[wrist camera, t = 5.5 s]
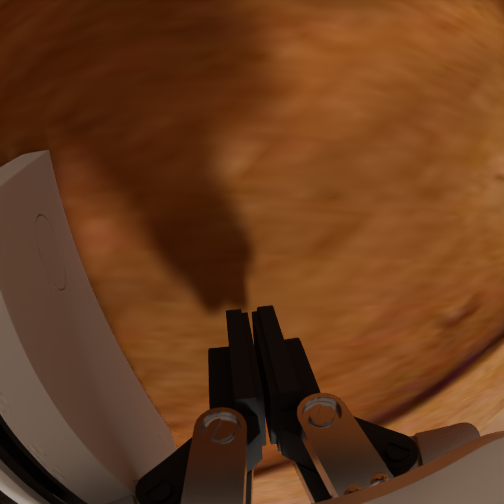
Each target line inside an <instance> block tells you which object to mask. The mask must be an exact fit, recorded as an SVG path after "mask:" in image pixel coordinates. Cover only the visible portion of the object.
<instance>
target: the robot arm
mask: <svg viewBox="0 0 504 504" xmlns="http://www.w3.org/2000/svg"><path fill="white" fill-rule="evenodd" d="M226 318H227V330H228V340H229V347H220V348H209V350H208V365H209V404H210V410H207V411H206V412H204V413H203V414H201V415H200V417H199V418H198V419H197V420H196V423H195V426H194V431H193V436H192V438H191V439H189V440H188V441H187V442H186V443H185V444H183V445H182V446H181V447H180V448H178V449H177V450H176V451H175V452H173V453H172V454H171V455H170V456H168V457H167V458H166V459H165V460H163V461H162V462H161V463H160V464H158V465H157V466H156V467H154V468H153V469H152V470H150V471H149V472H148V473H146V474H145V475H144V476H143V477H142V478H141V479H136V480H133V484H134V487H135V495H136V496H133V495H132V494H131V495H129V496H126V497H124V498H121V499H118V500H115V501H112V502H110V503H107V504H252V495H253V468H254V467H255V466H256V465H257V463H258V462H259V461H260V460H261V459H262V446H264V445H266V430H265V418H266V423H267V428H268V433H269V438H270V442H271V444H277V447H278V451H281V452H282V455H283V456H285V457H287V458H289V459H291V460H292V463H293V466H294V468H295V470H296V472H297V474H298V476H299V479H300V481H301V483H302V485H303V487H304V489H305V491H306V494H307V496H308V498H309V500H310V502H311V504H504V431H500V432H494V433H491V434H487V435H484V436H482V437H480V434H479V432H478V430H477V428H476V427H475V426H473V425H472V424H470V423H466V422H465V423H458V424H454V425H450V426H446V427H442V428H438V429H434V430H429V431H424V432H419V433H416V434H415V435H414V436H410V437H408V436H406V435H404V434H401V433H398V432H395V431H392V430H389V429H386V428H384V427H381V426H378V425H375V424H372V423H370V422H367V421H364V420H362V419H359V418H356V417H354V416H353V415H352V414H351V412H350V411H349V409H348V408H347V406H346V404H345V403H344V402H343V401H342V400H341V399H340V398H338V397H337V396H335V395H332V394H328V393H320V390H319V387H318V385H317V382H316V380H315V377H314V374H313V372H312V369H311V367H310V364H309V362H308V359H307V356H306V354H305V351H304V349H303V346H302V344H301V341H300V339H299V338H292V339H285V340H284V338H283V335H282V332H281V329H280V326H279V323H278V320H277V317H276V314H275V311H274V308H273V306H272V305H271V306H263V307H257V311H254V312H252V322H253V337H254V344H253V339H252V334H251V328H250V323H249V318H248V313H247V312H246V313H241V309H237V310H227V311H226ZM63 504H87V503H86V502H85V501H83V500H76V499H75V498H73V497H72V496H71V495H69V494H68V493H67V492H65V491H64V492H63Z"/></svg>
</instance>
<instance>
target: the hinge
mask: <svg viewBox="0 0 504 504" xmlns="http://www.w3.org/2000/svg"><path fill="white" fill-rule="evenodd" d="M176 450H177V448H176V445H175V443H174V440H173V437H172V434H171V431H170V429H169V428H168V426H167V425H166V423H165V422H164V420H163V419H162V417H161V416H160V414H159V413H158V411H157V410H156V408H155V407H154V405H153V404H152V402H151V401H150V399H149V397H148V396H147V394H146V392H145V391H144V389H143V388H142V386H141V384H140V383H139V381H138V379H137V377H136V376H135V374H134V372H133V370H132V369H131V367H130V365H129V363H128V362H127V360H126V358H125V356H124V354H123V352H122V350H121V349H120V347H119V345H118V343H117V341H116V339H115V337H114V335H113V333H112V331H111V329H110V327H109V325H108V323H107V321H106V318H105V316H104V314H103V312H102V310H101V308H100V305H99V303H98V301H97V299H96V296H95V294H94V292H93V289H92V287H91V285H90V282H89V280H88V277H87V275H86V272H85V270H84V267H83V264H82V262H81V259H80V256H79V254H78V251H77V248H76V245H75V242H74V240H73V237H72V234H71V231H70V228H69V224H68V221H67V218H66V215H65V211H64V208H63V205H62V201H61V197H60V194H59V190H58V186H57V182H56V178H55V174H54V170H53V166H52V161H51V156H50V152H49V150H45V151H38V152H33V153H27V154H22V155H20V156H19V157H17V158H15V159H13V160H11V161H10V162H8V163H6V164H5V165H3V166H1V167H0V490H1V491H2V492H3V493H5V494H6V495H7V496H8V497H10V498H11V499H13V500H14V501H15V502H17V503H18V504H63V492H64V491H65V492H67V493H68V494H69V495H71V496H72V497H73V498H75V499H76V500H83V501H85V502H86V503H87V504H107V503H110V502H112V501H115V500H118V499H121V498H124V497H126V496H129V495H131V494H132V495H133V496H136V495H135V487H134V484H133V480H136V479H141V478H142V477H143V476H144V475H145V474H146V473H148V472H149V471H150V470H152V469H153V468H154V467H156V466H157V465H158V464H160V463H161V462H162V461H163V460H165V459H166V458H167V457H168V456H170V455H171V454H172V453H173V452H175V451H176Z"/></svg>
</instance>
